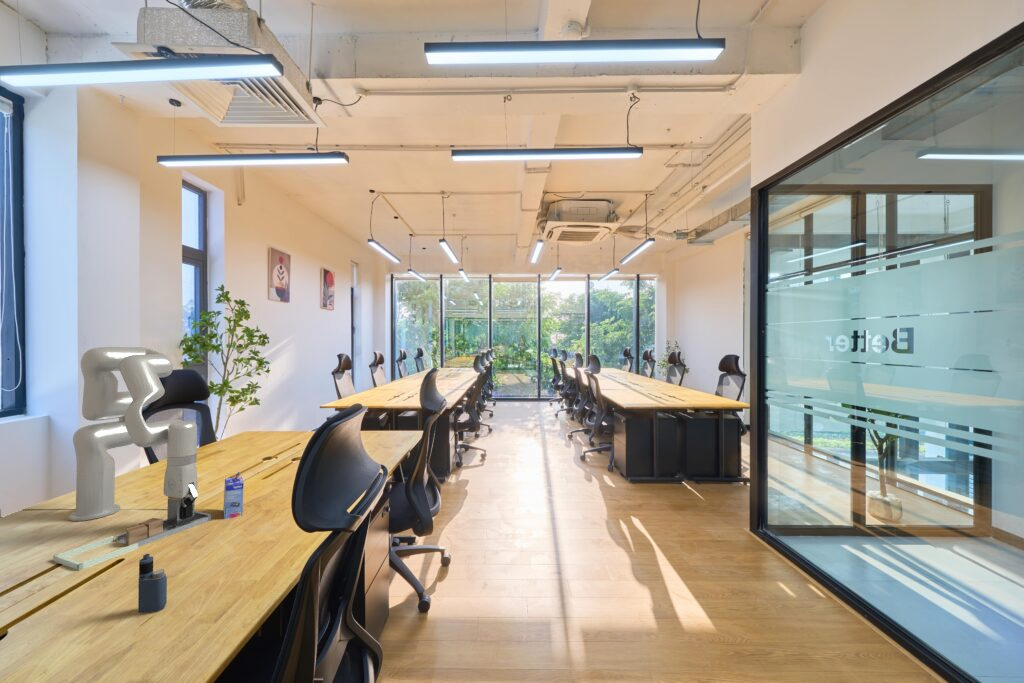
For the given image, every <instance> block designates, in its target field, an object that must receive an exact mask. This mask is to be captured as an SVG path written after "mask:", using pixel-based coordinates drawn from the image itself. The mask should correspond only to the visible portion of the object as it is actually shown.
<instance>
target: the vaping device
mask: <svg viewBox="0 0 1024 683" xmlns="http://www.w3.org/2000/svg"><path fill="white" fill-rule="evenodd" d="M138 562H139V564H138V566H139V568H138V586H137V587H138V588H137V589H138V596H137V597H138V604H137V608H138V610H137V613H140V614H141V613H142V614H143V613H157V612H160V611H162V610H164V609H165V607H166V605H167V601H168V600H167V599H168V598H167V596H168V593H167V592H168V590H167V589H168V588H167V587H168V577H167V575H166V573H165V569H157V570H155V571H154V556H151V555H150V553H145V554H143V556H142V558H141V559H139V561H138Z"/></svg>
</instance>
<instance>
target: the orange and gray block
mask: <svg viewBox="0 0 1024 683" xmlns="http://www.w3.org/2000/svg"><path fill="white" fill-rule="evenodd" d="M188 495H189V494H187V495H186V496H188ZM185 499H186V501H187V499H189V497H188V498H185ZM195 501H196V500H195ZM195 501H194V504H193V516H192V517H189V518H186V519H183V520H182V519H181V507H183V506H182V500H181V499H178V498H173V497H169V498H167V517H166V519H167V524H169V525H173V526H180V525H183V524H185V523H188V522H191V521H194V511H195V505H196V504H195Z"/></svg>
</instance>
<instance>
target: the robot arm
mask: <svg viewBox="0 0 1024 683" xmlns="http://www.w3.org/2000/svg"><path fill="white" fill-rule="evenodd" d="M80 369H81V373H82V376H83V392H82V403H81V404H82V405H81V412H82V413H81V414H82V417H83V418H84V419H85V420H86V421H90V422H94V421H95V422H96V421H104V420H105V421H107V420H114V419H118V420H116V421H107V422H102V423H100V422H99V423H95V424H94V423H93V424H89V425H86V426H83V427H81V428H80V427H79V429H77V430H76V431H75V432H74V434H73V436H72V443H73V447H74V453H75V458H76V459H75V460H76V461H75V462H76V481H75V482H76V485H75V489H76V490H75V494H76V495H75V511H74V512H72V513H70V514H69V516H68V520H69V521H72V522H80V521H81V522H82V521H89V520H94V519H99V518H103V517H107V516H110V515H112V514H115V513H117V512H119V511H120V510H121V505H119V504H117V503H115V493H116V492H115V489H116V487H115V486H116V484H115V483H116V477H115V476H116V462H115V458H114V457H113V456H112V455H111V454H110V453H109V452H108V450H111V449H117V448H122V447H126V446H130V445H133V444H134V445H135V446H136V447H139V448H150V447H156V446H158V445H166V444H167V445H166V446H167V447H166V449H167V450H166V468H165V471H164V472H165V473H164V478H163V479H164V480H163V495H164V496H166V497H167V499H169V497H173V498H178V499H181V500H182V506H183V507H181V519H182V520H183V519H186V518H189V517H192V516H193V504H194V501H196V499H197V498H199V495H198V470H197V456H198V455H197V453H198V452H197V451H198V450H197V449H198V446H197V445H198V425H197V423H196V421H195V422H194V421H185V420H182V419H177V418H176V419H174V418H173V419H167V420H160V421H153V422H148V423H146V421H145V419H144V417H143V408H144V407H145V406H147V405H149V404H151V403H154V402H156V401H157V400H159V399H161V398H162V397H163V396H164V394H165V393H166V392H165V391H166V390H165V388H164V386H163V384H162V381H161V379H160V378H166V377H169V376H170V375H171V374H172V373H173V371H174V365H173V362H172V360H171V358H169V356H167V355H166V354H164V353H161V352H158V351H156V350H153V349H151V348H148V347H141V346H140V347H139V346H138V347H137V346H135V347H134V346H130V347H129V346H124V347H123V346H100V347H93V348H90V349H88V350H87V351H85V352H84V353H83V354H82V356H81V359H80ZM114 372H120V374H121V377H122V379H123V381H124V383H125V385H126V388H127V391H118V388H119V380H118V378H117V376H116V375H115V374H114ZM187 494H189V495H188V496H186V495H187ZM188 497H189V499H187V501H186V499H185V498H188Z"/></svg>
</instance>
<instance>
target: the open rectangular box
mask: <svg viewBox="0 0 1024 683" xmlns="http://www.w3.org/2000/svg"><path fill="white" fill-rule="evenodd" d="M211 521H212V514H211V513H208V512H203V511H198V510H194V521H191V522H188V523H185V524H183V525H180V526H173V525H169V524H167V518H165V519H163V532H161V533H158V534H155V535H152V536H150V537H147V538H144V539H141V540H138V541H135V543H138V548H140V547H143V546H146V545H149V544H151V543H153V542H156V541H159V540H162V539H164V538H168V537H170V536H172V535H176V534H179V533H181V532H183V531H186V530H189V529H191V528H194V527H196V526H200V525H202V524H205V523H209V522H211ZM115 542H118V543H120V544H124V545H127V546H128V544H127V543H126V532H123V533H120V534H117V535H115Z"/></svg>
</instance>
